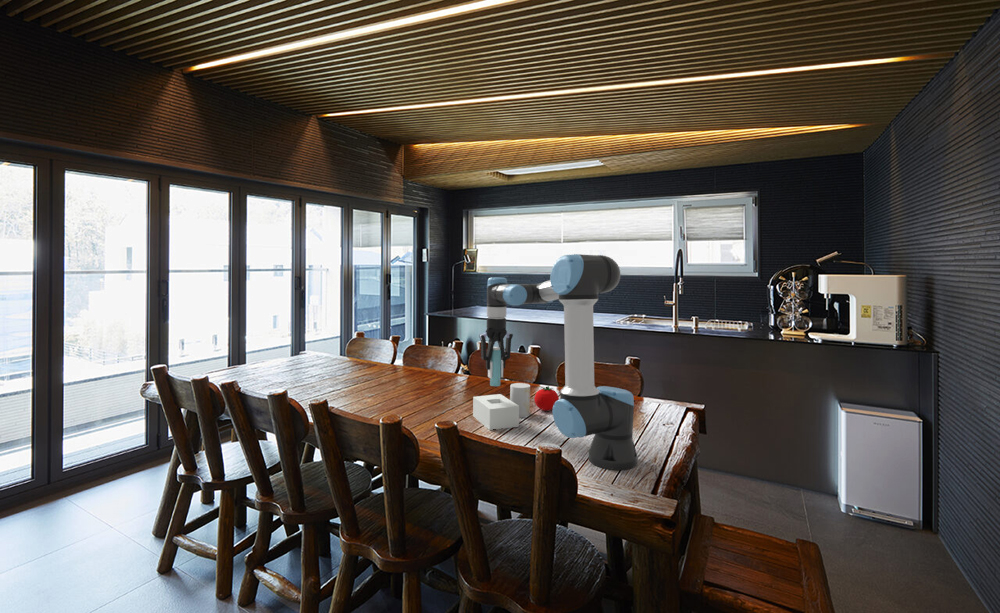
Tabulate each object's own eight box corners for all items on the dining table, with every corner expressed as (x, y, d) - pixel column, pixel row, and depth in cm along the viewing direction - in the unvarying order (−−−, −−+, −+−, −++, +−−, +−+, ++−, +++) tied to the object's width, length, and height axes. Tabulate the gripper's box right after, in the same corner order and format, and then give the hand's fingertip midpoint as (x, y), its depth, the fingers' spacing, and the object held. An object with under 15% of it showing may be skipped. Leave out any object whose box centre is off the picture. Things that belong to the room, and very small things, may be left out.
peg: (501, 385, 190) (502, 348, 189) (492, 386, 189) (493, 348, 187) (497, 383, 194) (498, 346, 193) (488, 384, 192) (489, 346, 191)
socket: (518, 426, 186) (519, 405, 186) (489, 430, 182) (489, 409, 181) (500, 412, 203) (500, 394, 202) (473, 416, 198) (473, 396, 198)
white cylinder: (528, 417, 197) (528, 388, 196) (508, 416, 199) (508, 387, 198) (530, 411, 205) (531, 383, 204) (511, 410, 207) (512, 382, 206)
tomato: (531, 412, 205) (531, 388, 204) (537, 405, 214) (537, 383, 214) (556, 414, 201) (556, 391, 201) (560, 407, 211) (561, 385, 210)
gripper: (512, 315, 195) (511, 373, 198) (472, 317, 189) (471, 376, 191) (520, 318, 189) (519, 377, 191) (479, 319, 182) (478, 381, 184)
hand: (495, 376), depth 191 cm, fingers closed on peg, 4 cm apart
